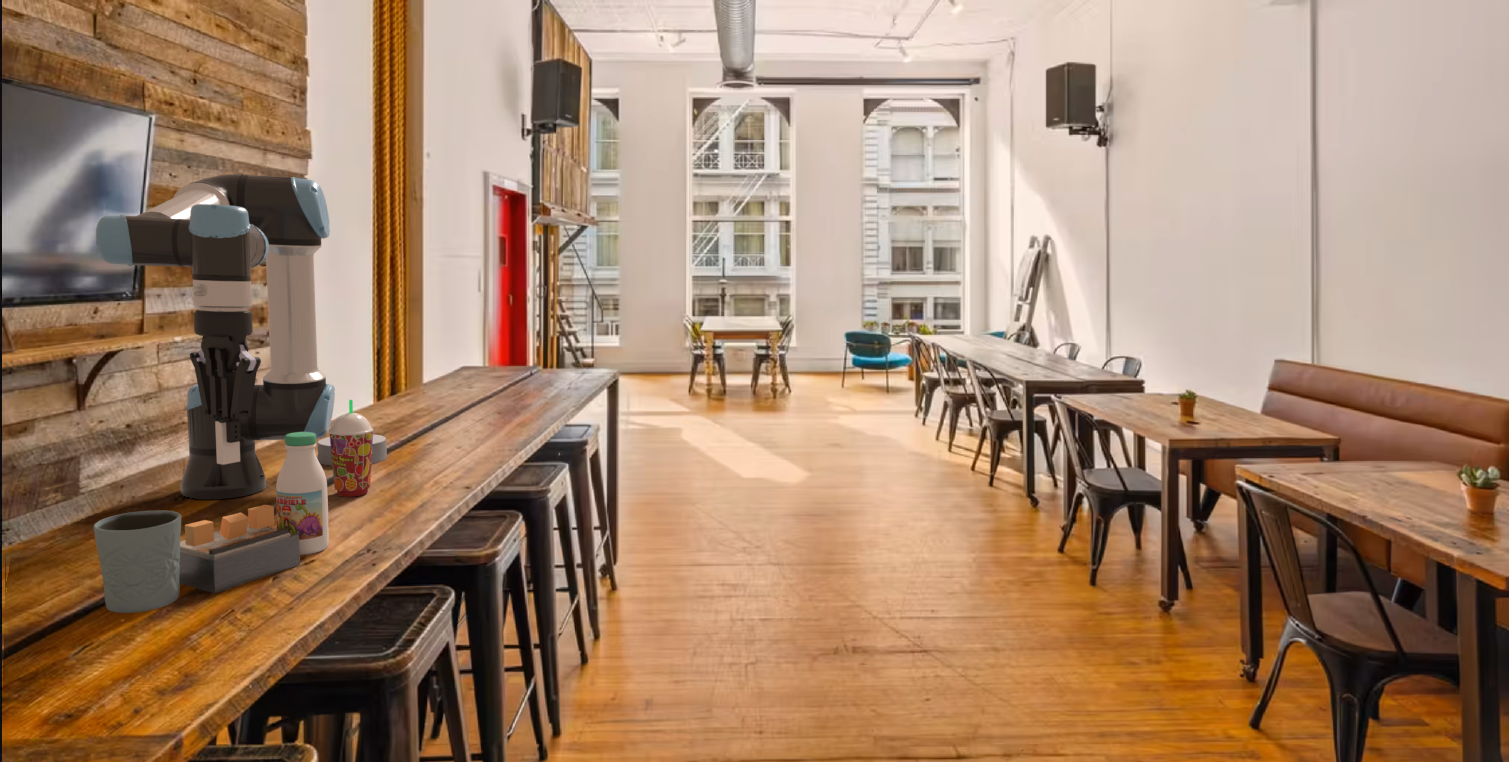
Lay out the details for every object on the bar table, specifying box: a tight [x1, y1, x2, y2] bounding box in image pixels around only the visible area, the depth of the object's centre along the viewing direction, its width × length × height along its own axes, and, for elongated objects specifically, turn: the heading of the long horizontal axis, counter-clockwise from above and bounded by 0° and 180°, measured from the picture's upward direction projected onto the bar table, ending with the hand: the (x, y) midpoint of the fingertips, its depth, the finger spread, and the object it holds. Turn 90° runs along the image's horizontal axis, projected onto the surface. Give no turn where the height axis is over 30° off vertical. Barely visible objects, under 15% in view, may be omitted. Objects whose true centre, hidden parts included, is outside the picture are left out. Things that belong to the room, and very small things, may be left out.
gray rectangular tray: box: [179, 525, 301, 594], centre depth 133 cm, size 12×14×6 cm
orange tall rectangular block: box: [184, 519, 215, 547], centre depth 128 cm, size 2×3×3 cm, turn 156°
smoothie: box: [328, 399, 375, 498], centre depth 178 cm, size 8×8×20 cm
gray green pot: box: [93, 509, 182, 614], centre depth 121 cm, size 10×10×12 cm
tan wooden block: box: [247, 504, 275, 529], centre depth 137 cm, size 2×3×3 cm, turn 156°
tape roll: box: [316, 433, 388, 467], centre depth 209 cm, size 15×15×5 cm
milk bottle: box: [275, 432, 330, 556], centre depth 144 cm, size 8×8×20 cm
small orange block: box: [219, 512, 249, 540], centre depth 133 cm, size 2×3×3 cm, turn 158°
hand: (228, 462), depth 131 cm, fingers closed
